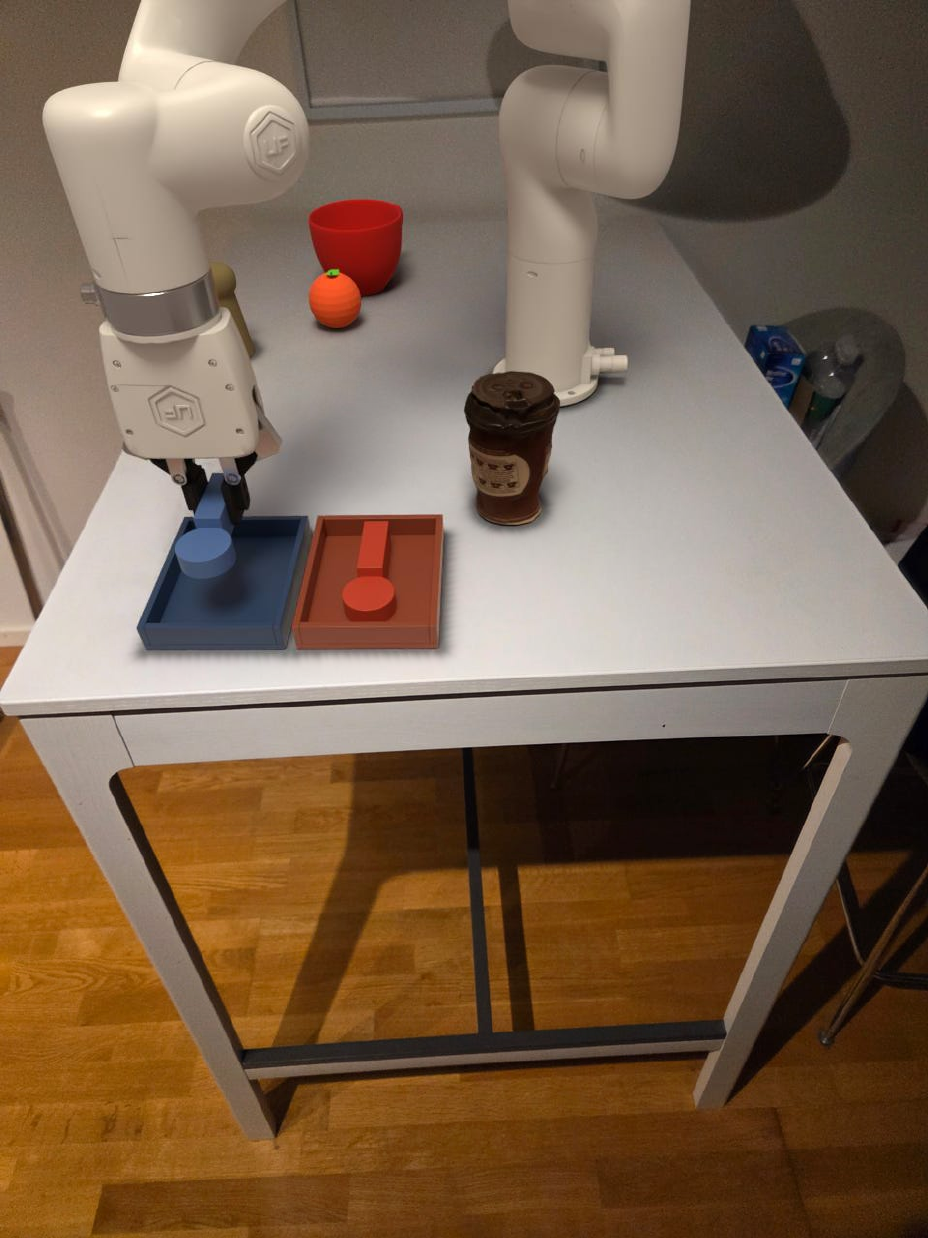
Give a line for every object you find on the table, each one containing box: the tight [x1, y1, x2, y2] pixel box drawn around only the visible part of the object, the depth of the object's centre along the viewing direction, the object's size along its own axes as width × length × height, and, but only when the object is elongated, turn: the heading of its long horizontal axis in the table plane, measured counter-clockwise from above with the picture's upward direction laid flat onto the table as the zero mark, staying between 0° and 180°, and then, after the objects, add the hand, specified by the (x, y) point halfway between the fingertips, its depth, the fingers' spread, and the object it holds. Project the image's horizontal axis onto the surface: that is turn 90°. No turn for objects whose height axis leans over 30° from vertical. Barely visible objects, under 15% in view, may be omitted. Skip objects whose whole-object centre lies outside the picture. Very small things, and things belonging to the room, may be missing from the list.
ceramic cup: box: [308, 198, 404, 297], centre depth 115 cm, size 13×17×10 cm
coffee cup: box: [463, 371, 561, 526], centre depth 73 cm, size 9×8×13 cm
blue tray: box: [135, 515, 313, 651], centre depth 70 cm, size 12×15×3 cm
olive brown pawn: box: [209, 261, 256, 358], centre depth 99 cm, size 6×6×11 cm
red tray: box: [291, 513, 445, 650], centre depth 69 cm, size 12×15×3 cm
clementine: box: [308, 269, 362, 329], centre depth 106 cm, size 8×7×7 cm
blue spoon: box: [175, 472, 236, 579], centre depth 65 cm, size 11×4×3 cm, turn 179°
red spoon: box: [342, 521, 396, 622], centre depth 69 cm, size 11×4×3 cm, turn 179°
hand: (222, 513), depth 68 cm, fingers closed on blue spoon, 2 cm apart
